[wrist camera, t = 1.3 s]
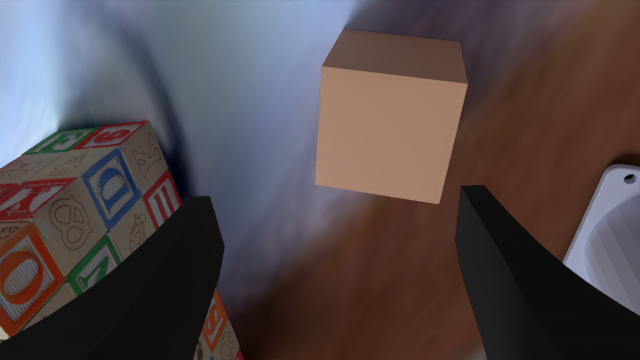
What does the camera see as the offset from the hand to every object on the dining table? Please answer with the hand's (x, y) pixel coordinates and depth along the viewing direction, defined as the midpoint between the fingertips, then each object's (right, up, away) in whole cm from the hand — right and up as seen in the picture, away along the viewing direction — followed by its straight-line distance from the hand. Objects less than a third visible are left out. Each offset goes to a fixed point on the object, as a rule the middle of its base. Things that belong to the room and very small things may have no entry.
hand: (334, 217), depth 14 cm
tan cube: (+3, +5, +8) cm, 10 cm away
